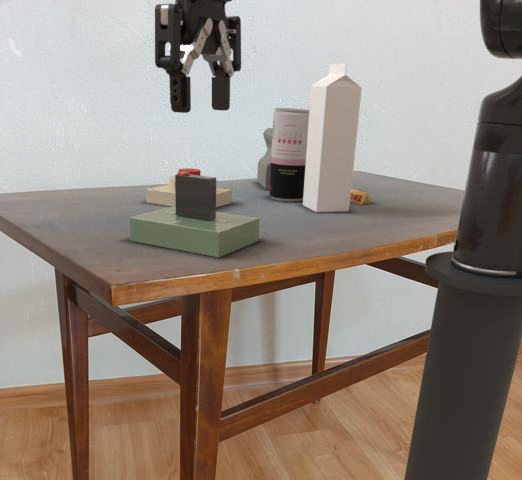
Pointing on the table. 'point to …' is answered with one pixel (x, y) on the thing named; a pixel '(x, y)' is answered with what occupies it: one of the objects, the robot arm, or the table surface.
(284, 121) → the beverage can
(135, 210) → the table surface
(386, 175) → the table surface
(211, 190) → the dark grey square slab
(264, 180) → the grey irregular figure
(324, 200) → the milk
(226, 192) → the base
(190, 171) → the power button
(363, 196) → the chocolate bar
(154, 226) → the green flat block
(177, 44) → the robot arm
